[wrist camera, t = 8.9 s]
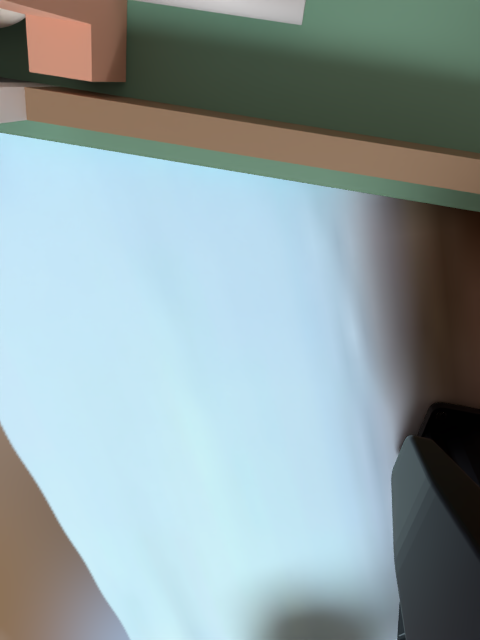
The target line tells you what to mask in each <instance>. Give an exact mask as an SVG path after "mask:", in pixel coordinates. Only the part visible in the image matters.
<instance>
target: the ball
mask: <svg viewBox="0 0 480 640" xmlns="http://www.w3.org/2000/svg"><path fill="white" fill-rule="evenodd" d="M24 18H26V17H25V14H22V13H18V12H14V11H10V10H6V9H2V8H0V28H4V27H8V26H11V25H13V24H16V23H18V22H20V21H21V20H23V19H24Z"/></svg>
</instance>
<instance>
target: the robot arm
mask: <svg viewBox="0 0 480 640" xmlns="http://www.w3.org/2000/svg"><path fill="white" fill-rule="evenodd" d="M438 412H444V413H443V414H441V415H437V413H438ZM391 488H392V516H393V544H394V562H395V570H396V578H397V584H398V591H399V598H400V605H399V621H398V637H397V640H480V410H479V409H474V408H469V407H463V406H458V405H453V404H447V403H439V402H438V403H435V404H433V405H431V406H430V408H429V410H428V412H427V414H426V417H425V419H424V422H423V424H422V426H421V429H420V431H419V434H418V436H414V435H410V436H407V438H406V439H405V441H404V443H403V445H402V448H401V450H400V453H399V455H398V457H397V460H396V462H395V465H394V467H393V471H392V477H391Z"/></svg>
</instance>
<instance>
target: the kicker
mask: <svg viewBox="0 0 480 640" xmlns="http://www.w3.org/2000/svg"><path fill="white" fill-rule="evenodd" d="M134 1H141V2H148V3H154V4H161V5H168V6H175V7H181V8H188V9H195V10H202V11H208V12H215V13H222V14H229V15H235V16H242V17H249V18H256V19H263V20H269V21H276V22H283V23H290V24H296V25H302V21H303V16H304V10H305V4H306V0H134ZM0 8H2V9H6V10H10V11H14V12H18V13H22V14H25V17H26V31H27V46H28V60H29V72H33V73H40V74H46V75H52V76H59V77H65V78H71V79H78V80H84V81H90V82H126V41H127V0H0Z"/></svg>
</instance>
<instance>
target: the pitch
mask: <svg viewBox="0 0 480 640" xmlns="http://www.w3.org/2000/svg"><path fill="white" fill-rule="evenodd" d="M0 133H6V134H12V135H18V136H24V137H30V138H36V139H42V140H48V141H54V142H60V143H67V144H73V145H79V146H85V147H91V148H97V149H103V150H109V151H115V152H121V153H127V154H133V155H139V156H145V157H151V158H157V159H163V160H169V161H175V162H181V163H187V164H193V165H200V166H206V167H212V168H218V169H224V170H230V171H236V172H242V173H248V174H254V175H260V176H266V177H272V178H278V179H284V180H290V181H296V182H302V183H308V184H314V185H320V186H326V187H332V188H339V189H345V190H351V191H357V192H363V193H369V194H375V195H381V196H387V197H393V198H399V199H405V200H411V201H417V202H423V203H429V204H435V205H441V206H447V207H453V208H459V209H465V210H471V211H478V212H480V0H306V4H305V10H304V16H303V21H302V25H296V24H290V23H283V22H276V21H269V20H263V19H256V18H249V17H242V16H235V15H229V14H222V13H215V12H208V11H202V10H195V9H188V8H181V7H175V6H168V5H161V4H154V3H148V2H141V1H134V0H127V41H126V82H90V81H84V80H78V79H71V78H65V77H59V76H52V75H46V74H40V73H33V72H29V60H28V46H27V31H26V18H24V19H23V20H21V21H20V22H18V23H16V24H13V25H11V26H8V27H4V28H0Z"/></svg>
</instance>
